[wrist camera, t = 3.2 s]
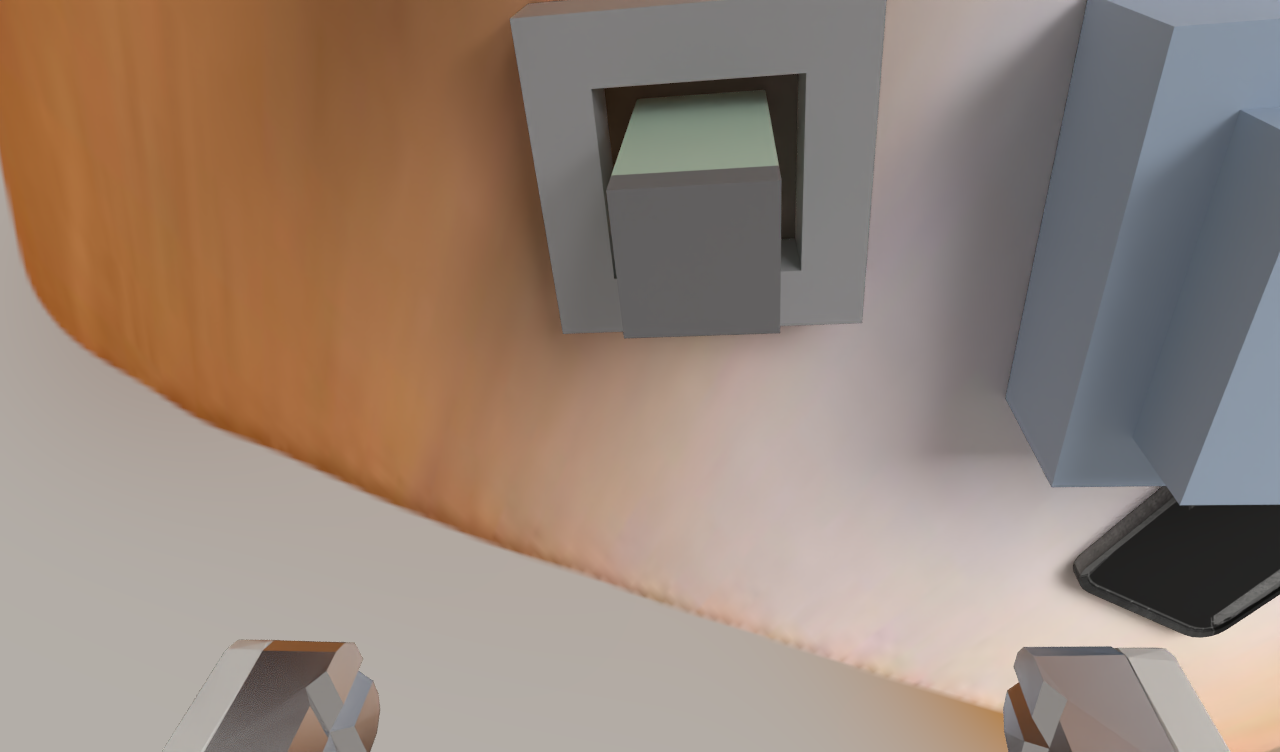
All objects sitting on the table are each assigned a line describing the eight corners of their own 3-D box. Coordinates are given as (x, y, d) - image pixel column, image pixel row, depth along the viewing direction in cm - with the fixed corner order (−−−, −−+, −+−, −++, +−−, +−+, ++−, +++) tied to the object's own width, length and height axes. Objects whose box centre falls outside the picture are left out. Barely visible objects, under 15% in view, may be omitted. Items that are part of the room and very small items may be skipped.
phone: (1557, 410, 27) (1205, 644, 35) (1529, 391, 28) (1193, 623, 36) (1391, 317, 26) (1065, 582, 34) (1368, 300, 27) (1056, 563, 35)
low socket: (528, 3, 23) (509, 18, 21) (872, -28, 22) (887, -15, 20) (574, 299, 29) (562, 333, 27) (851, 287, 28) (862, 323, 26)
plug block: (637, 98, 25) (606, 190, 18) (765, 89, 24) (781, 180, 18) (648, 218, 27) (623, 338, 20) (765, 211, 26) (780, 333, 20)
